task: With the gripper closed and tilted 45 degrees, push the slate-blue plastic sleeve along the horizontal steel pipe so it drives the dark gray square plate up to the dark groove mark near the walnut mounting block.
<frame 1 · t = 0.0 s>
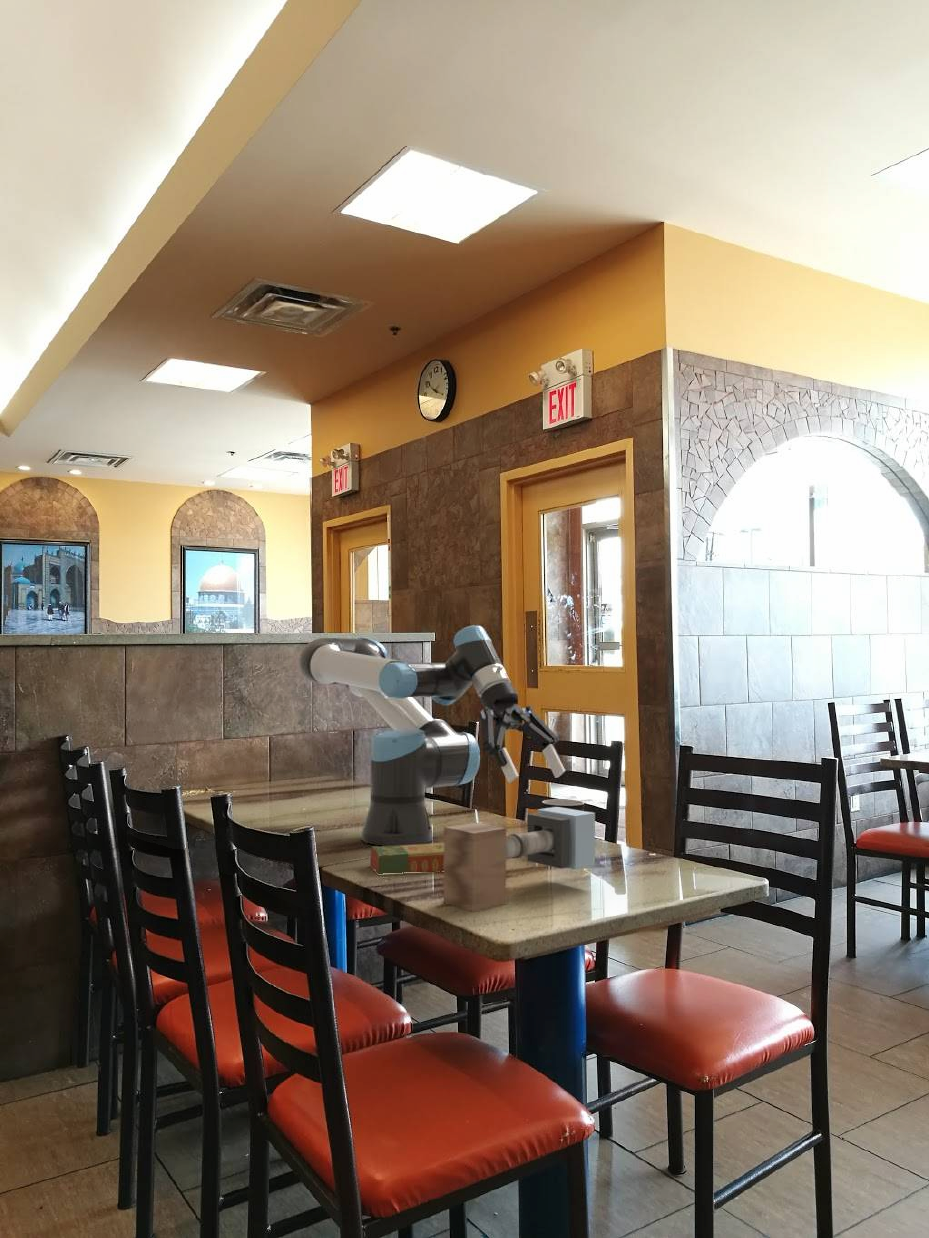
hand: (537, 777, 192), 15 cm above the table, tool tilted 35°, fingers open, 13 cm apart
coffee mug: (563, 851, 195), on the table
dark gray square plate: (548, 840, 163), point 8 cm above the table, slide at 0.0 cm
pipe mount: (474, 903, 151), on the table
carton: (416, 871, 177), on the table
sleeve: (565, 837, 166), point 8 cm above the table, slide at 0.0 cm
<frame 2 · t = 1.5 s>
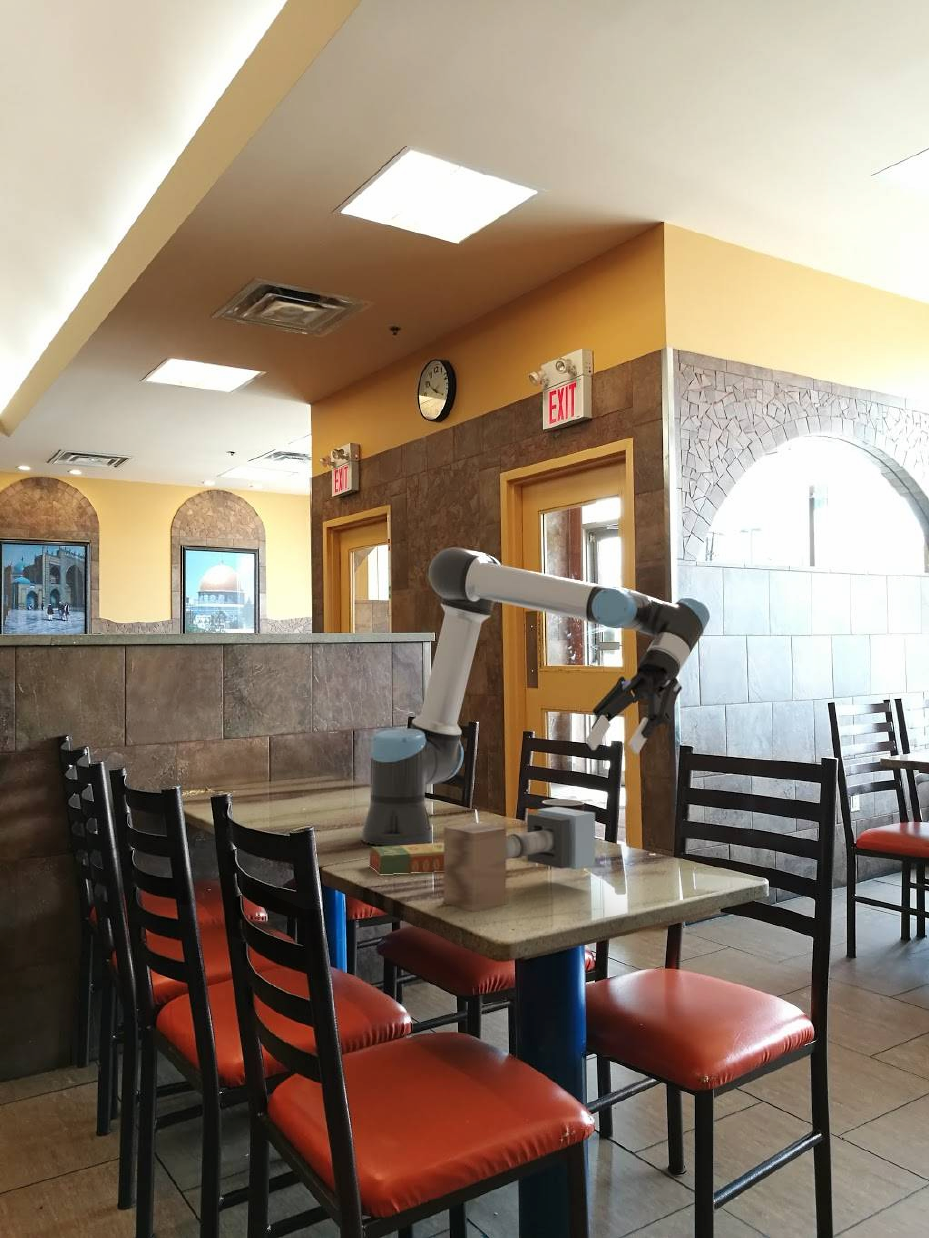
hand: (611, 747, 175), 23 cm above the table, tool tilted 45°, fingers open, 9 cm apart
nothing on the table moved.
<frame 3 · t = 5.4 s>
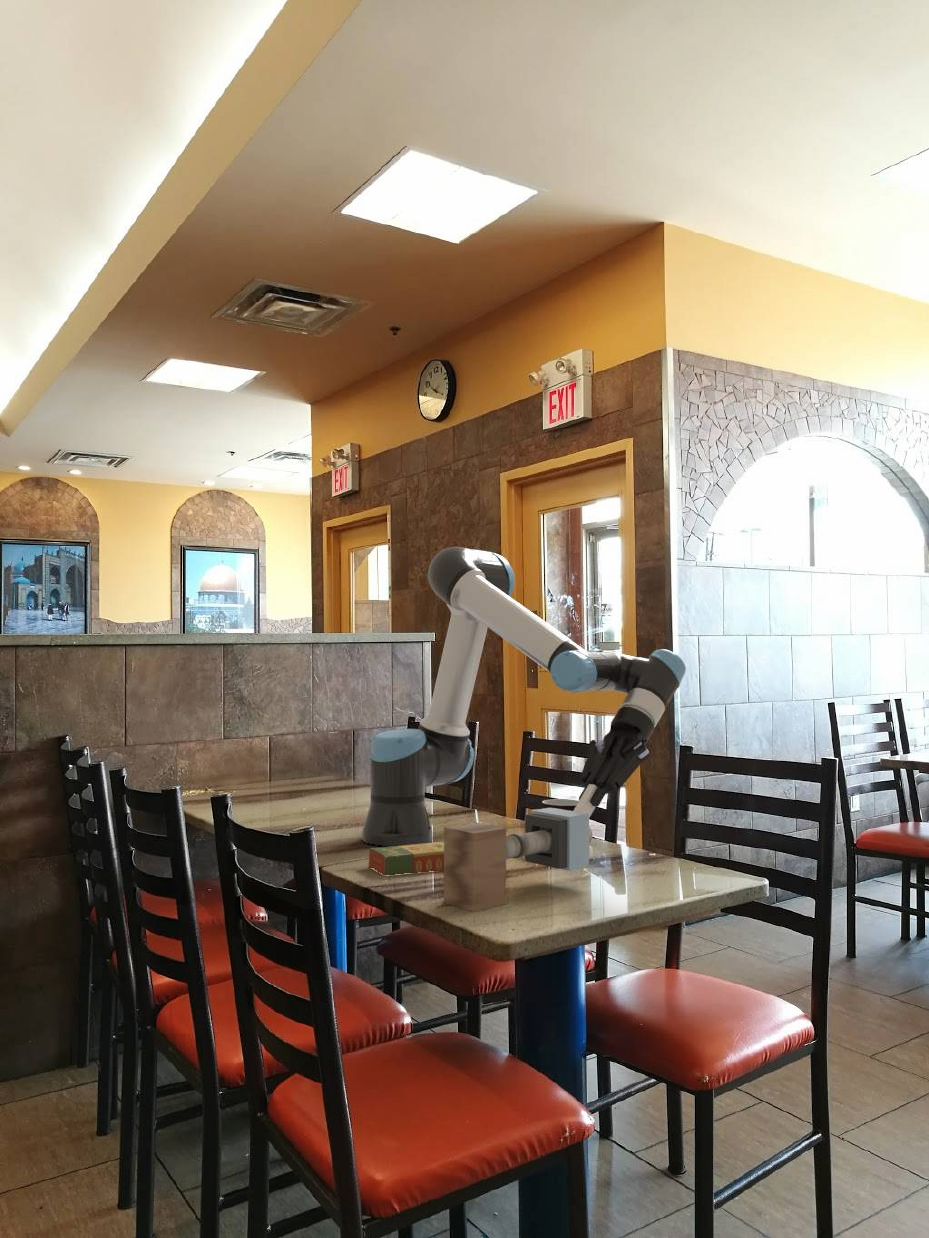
hand: (579, 818, 167), 11 cm above the table, tool tilted 45°, fingers closed
dark gray square plate: (545, 840, 163), point 8 cm above the table, slide at 0.6 cm, touching sleeve
sleeve: (559, 838, 165), point 8 cm above the table, slide at 1.6 cm, touching gripper, dark gray square plate
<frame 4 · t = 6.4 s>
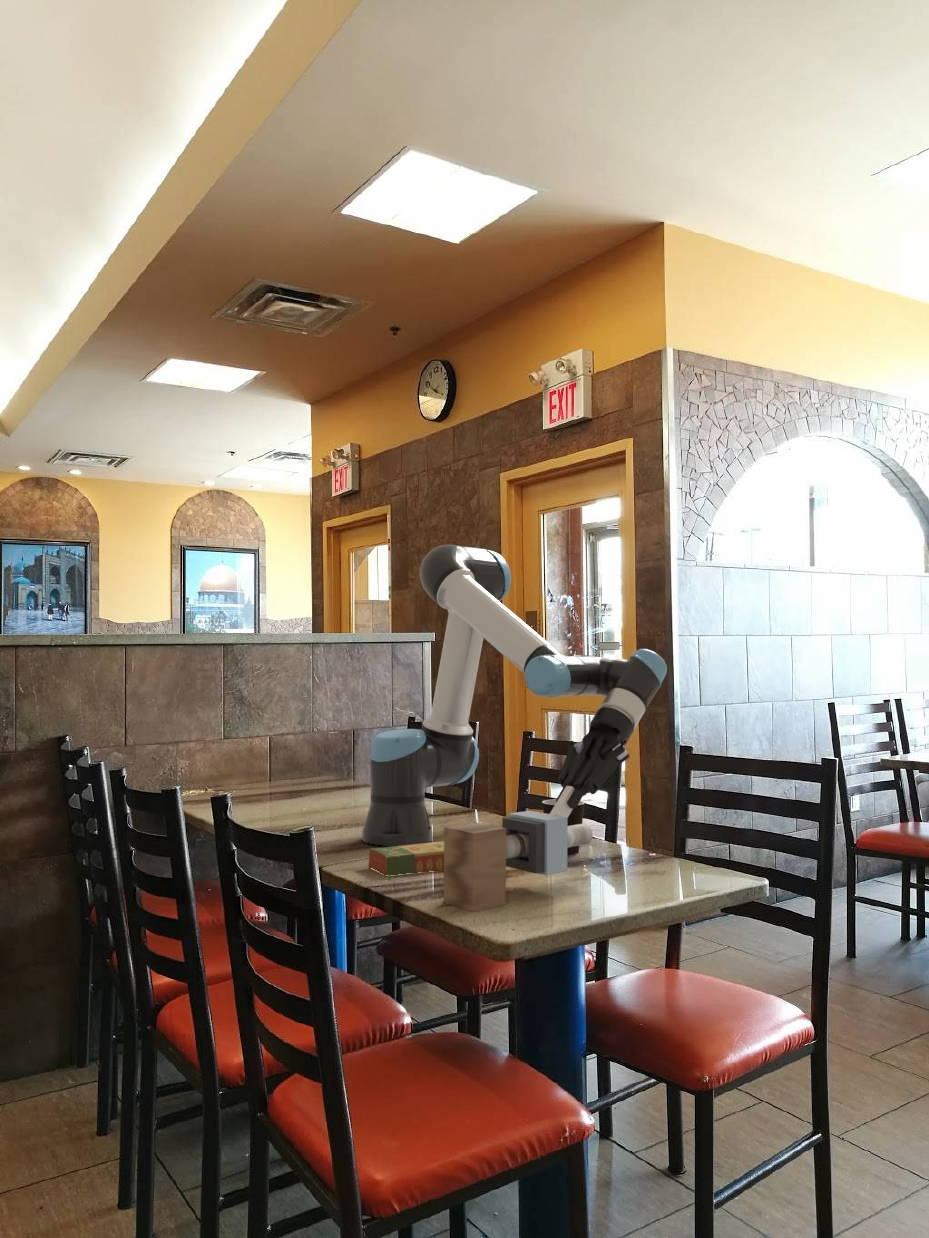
hand: (555, 820, 163), 11 cm above the table, tool tilted 45°, fingers closed
dark gray square plate: (523, 844, 159), point 8 cm above the table, slide at 6.1 cm, touching sleeve
sleeve: (537, 841, 161), point 8 cm above the table, slide at 7.1 cm, touching gripper, dark gray square plate
everything else where it was.
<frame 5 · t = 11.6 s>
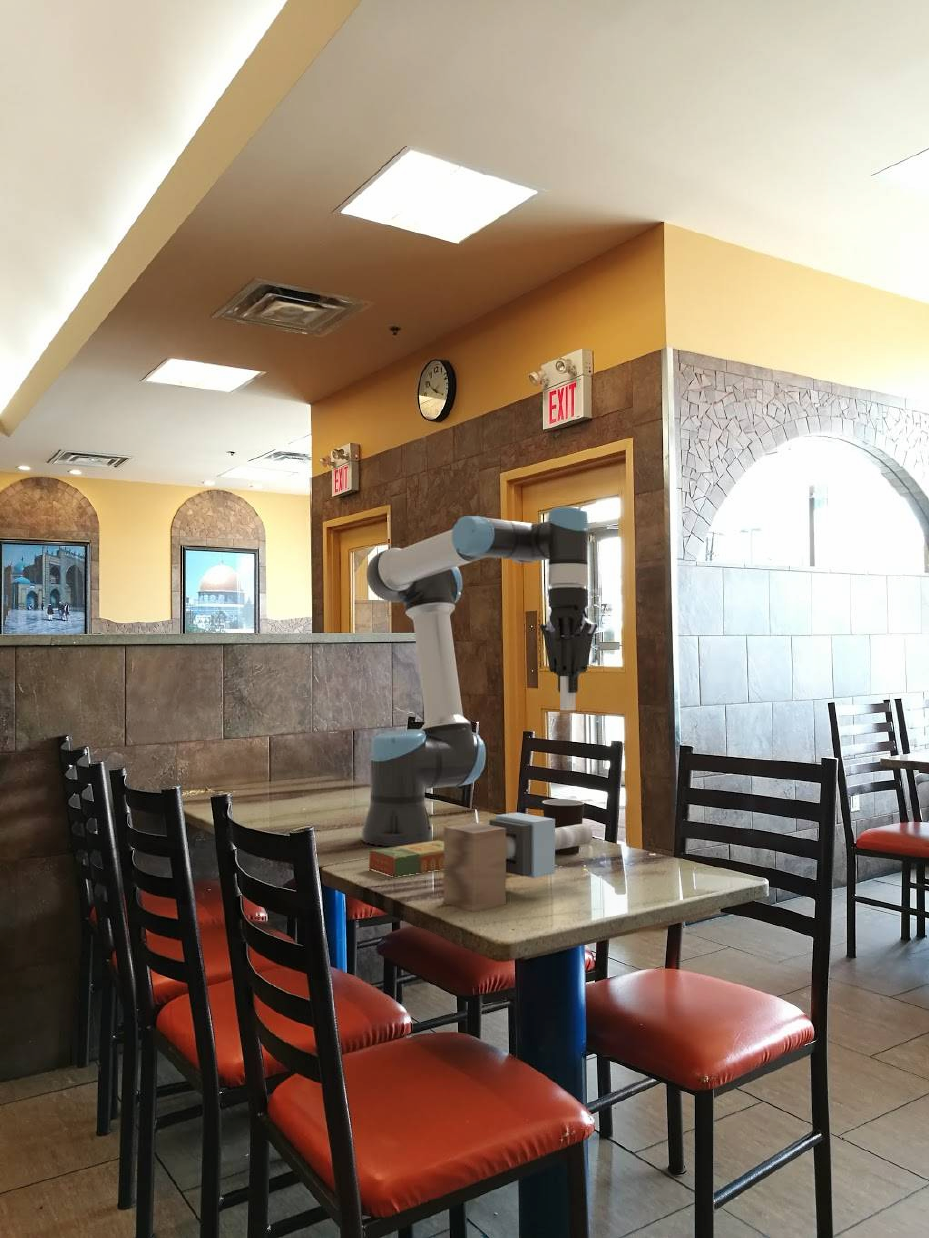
hand: (567, 710, 182), 29 cm above the table, tool pointing down, fingers closed
dark gray square plate: (510, 846, 157), point 8 cm above the table, slide at 9.1 cm, touching sleeve
sleeve: (525, 844, 159), point 8 cm above the table, slide at 10.1 cm, touching dark gray square plate
at the end: dark gray square plate slide at 9.1 cm; sleeve slide at 10.1 cm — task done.
